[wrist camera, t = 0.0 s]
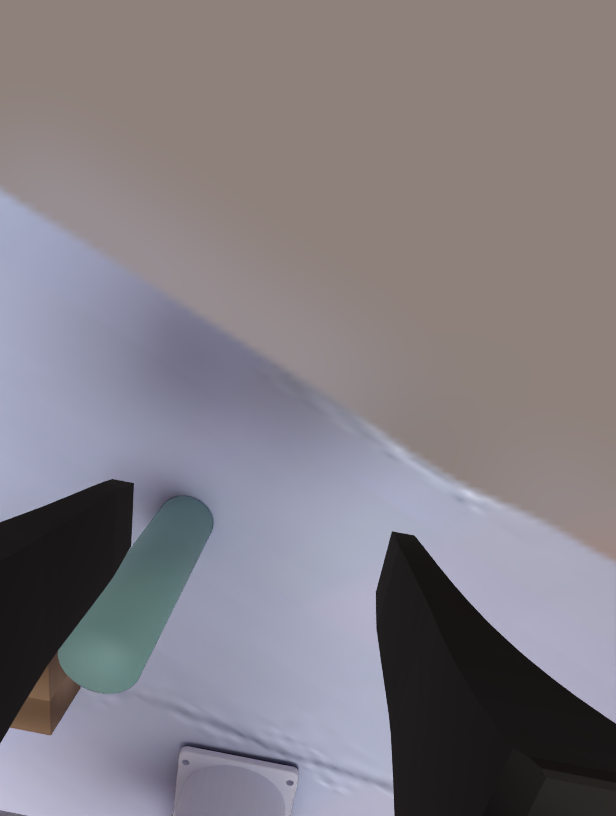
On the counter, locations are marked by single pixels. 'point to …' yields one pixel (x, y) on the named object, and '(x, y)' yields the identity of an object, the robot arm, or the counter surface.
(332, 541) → the counter surface
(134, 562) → the peg
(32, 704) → the hole block
